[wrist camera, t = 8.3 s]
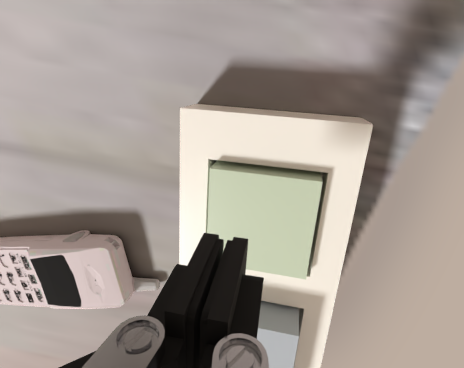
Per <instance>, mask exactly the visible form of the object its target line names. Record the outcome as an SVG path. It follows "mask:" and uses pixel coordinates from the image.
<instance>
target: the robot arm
mask: <svg viewBox="0 0 464 368" xmlns="http://www.w3.org/2000/svg"><path fill="white" fill-rule="evenodd" d="M223 247H224V240H223V239H219V235H217V234H210V233H204V234H203V235H202V237H201V239H200V241H199V243H198V245H197V247H196V249H195V251H194V253H193V255H192V257H191V259H190V261H189V263H188V265H181V264H177V265H176V266H175V267H174V269H173V271H172V273H171V275H170V276H169V278H168V280H167V282H166V283H165V285H164V287H163V289H162V291H161V292H160V294H159V296H158V298H157V299H156V301H155V303H154V305H153V307H152V308H151V310H150V312H149V314H148V315H147V316H136V317H133V318H130V319H128V320H126V321H124V322H122V323H121V324H120V325H119V326H118V327H117V328H116V329H115V330H114V331H113V332H112V333H111V334H110V336H109V337H108V338H107V339H106V340H105V341H104V343H103V344H102V345H101V346H100V347H99V348H98V350H97V351H95V352H93V353H90V354H88V355H86V356H84V357H82V358H79V359H77V360H75V361H73V362H70V363H68V364H66V365H64V366H62V367H59V368H269V362H268V356H267V352H266V349H265V348H264V346H263V345H262V343H261V342H259V341H258V340H257V333H258V324H259V316H260V307H261V299H262V290H263V281H264V278H263V277H257V276H251V275H245V273H246V261H247V250H248V239H246V238H238V237H233V240H227V243H226V246H225V248H224V251H223Z"/></svg>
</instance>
